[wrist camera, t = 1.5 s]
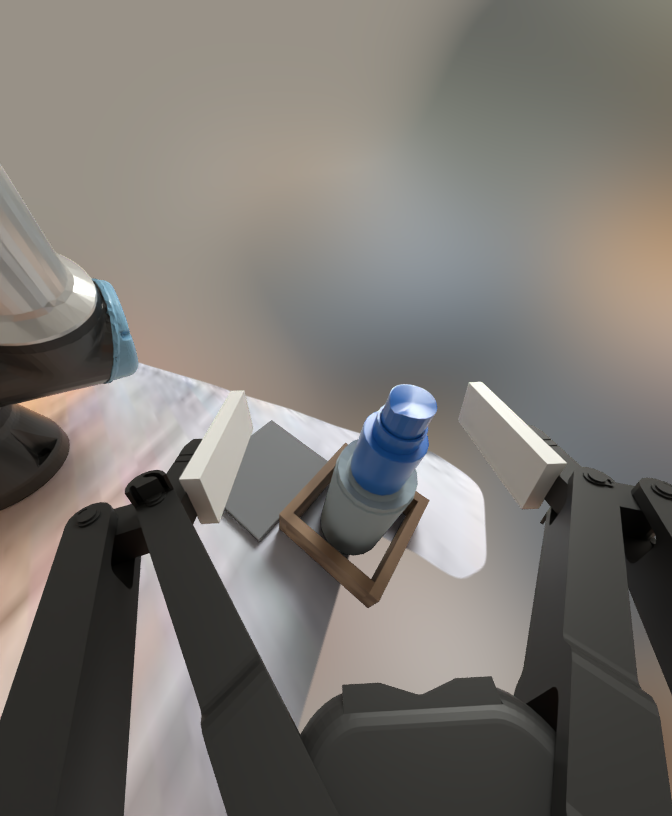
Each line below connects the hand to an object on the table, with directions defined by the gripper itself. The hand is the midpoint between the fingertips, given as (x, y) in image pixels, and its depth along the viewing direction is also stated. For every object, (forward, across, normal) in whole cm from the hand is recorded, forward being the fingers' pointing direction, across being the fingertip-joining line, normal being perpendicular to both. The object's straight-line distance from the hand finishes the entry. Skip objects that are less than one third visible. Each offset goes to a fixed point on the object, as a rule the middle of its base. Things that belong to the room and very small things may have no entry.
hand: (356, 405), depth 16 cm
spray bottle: (+10, +1, -26) cm, 28 cm away
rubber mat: (+16, -12, -22) cm, 30 cm away
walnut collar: (+10, +1, -26) cm, 28 cm away
